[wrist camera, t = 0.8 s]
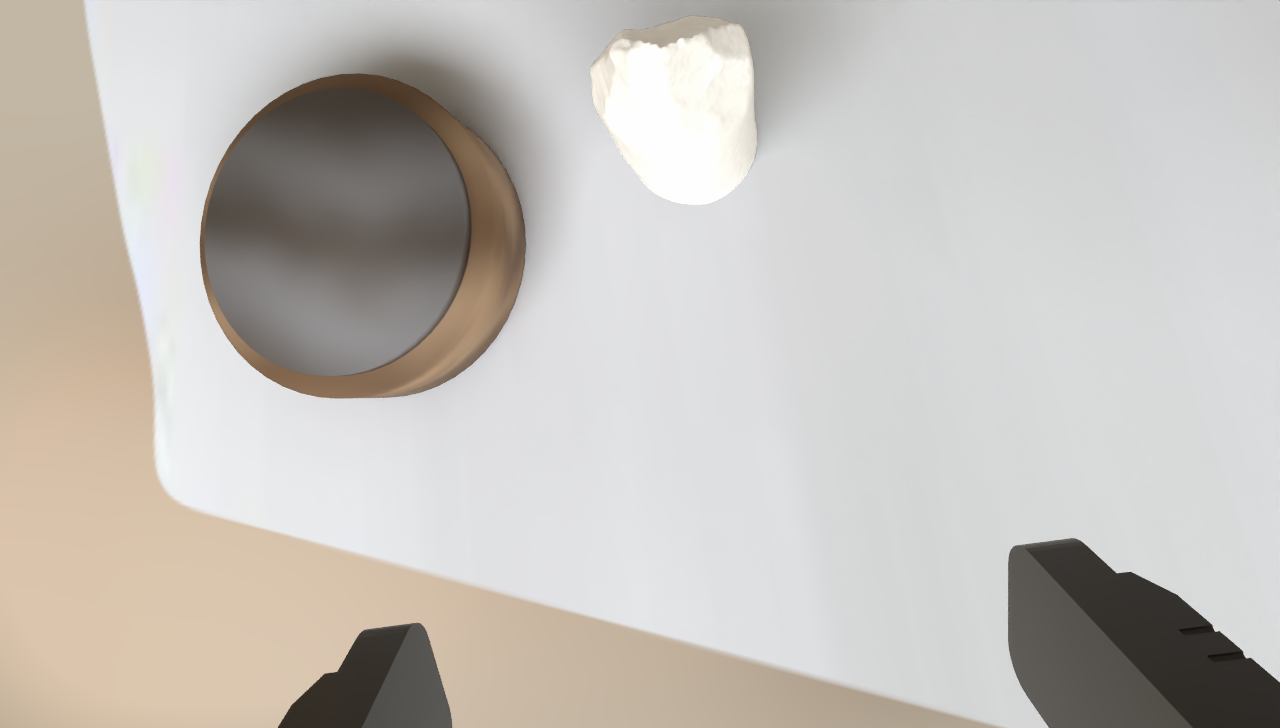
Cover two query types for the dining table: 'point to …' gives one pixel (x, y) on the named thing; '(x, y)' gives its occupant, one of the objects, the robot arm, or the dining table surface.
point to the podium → (360, 241)
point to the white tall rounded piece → (680, 106)
